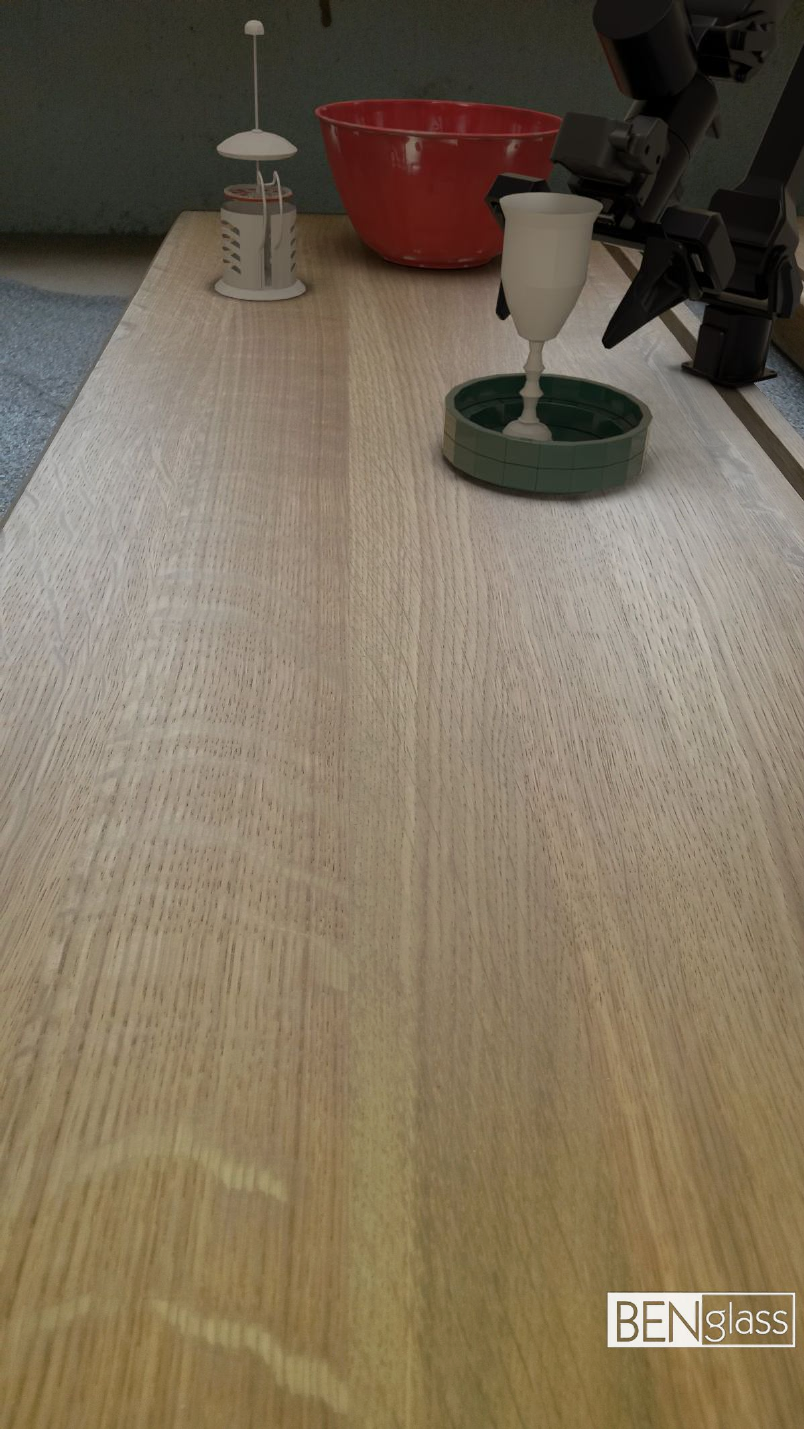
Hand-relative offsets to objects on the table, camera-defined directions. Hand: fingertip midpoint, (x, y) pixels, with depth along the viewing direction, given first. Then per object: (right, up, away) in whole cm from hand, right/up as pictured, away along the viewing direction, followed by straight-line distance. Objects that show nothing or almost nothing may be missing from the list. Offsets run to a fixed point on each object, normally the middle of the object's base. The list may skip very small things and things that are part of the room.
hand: (550, 330), depth 87 cm
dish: (0, -8, +6) cm, 10 cm away
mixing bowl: (-7, +27, +58) cm, 65 cm away
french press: (-26, +18, +42) cm, 53 cm away
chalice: (-1, -8, +5) cm, 10 cm away
